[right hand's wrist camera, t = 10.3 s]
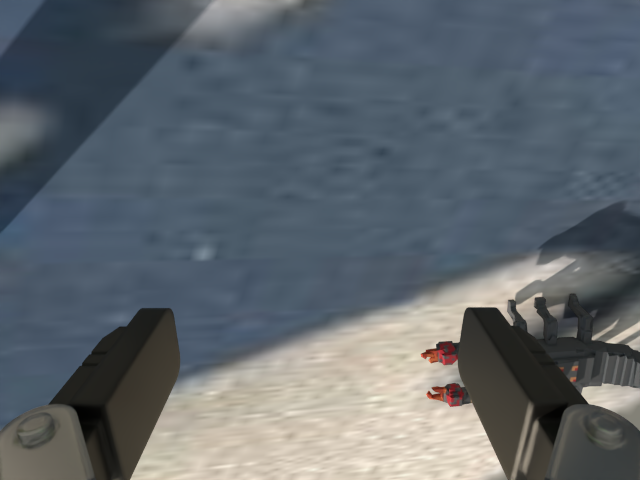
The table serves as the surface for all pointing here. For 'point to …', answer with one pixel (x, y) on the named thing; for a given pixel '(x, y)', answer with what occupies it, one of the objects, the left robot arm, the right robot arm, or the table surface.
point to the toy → (557, 355)
